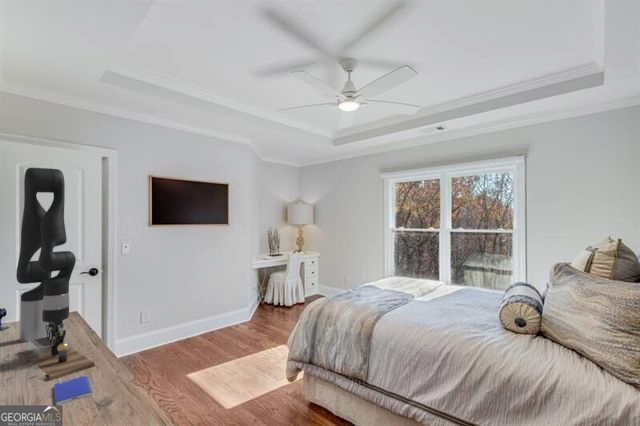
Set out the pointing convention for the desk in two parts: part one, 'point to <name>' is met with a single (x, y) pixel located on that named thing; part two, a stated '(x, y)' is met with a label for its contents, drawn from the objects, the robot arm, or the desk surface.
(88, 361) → the brown wooden board
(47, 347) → the grey rectangular frame
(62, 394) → the hard drive
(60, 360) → the post
